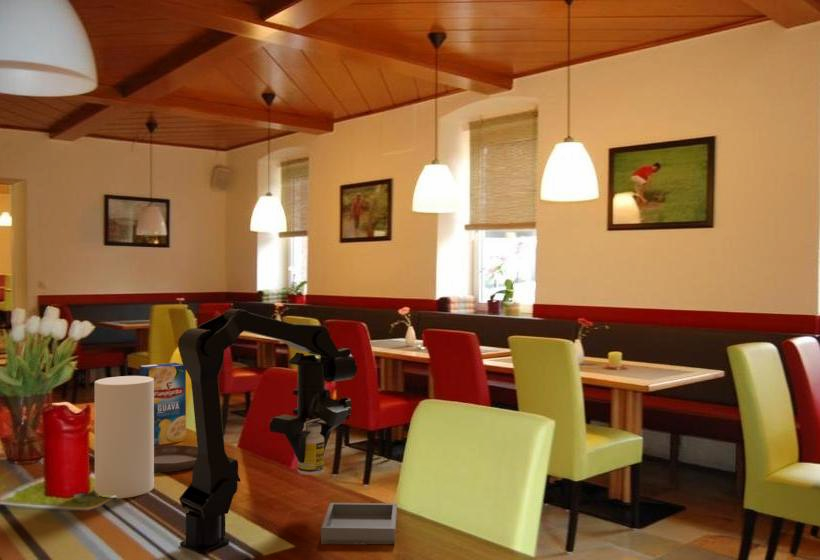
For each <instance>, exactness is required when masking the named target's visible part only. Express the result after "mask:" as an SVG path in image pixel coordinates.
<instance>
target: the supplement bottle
mask: <svg viewBox="0 0 820 560" xmlns="http://www.w3.org/2000/svg"><path fill="white" fill-rule="evenodd" d="M306 431H310V434H309V435H308V436H307V437H306V443H305V458H304V463H300V462H299V461H298V460H297V472H298V473H299V474H301V475H309V476H313V475H319V474H321V473H323V472H324V470H325V451H324V437H323V435H321V434H320V432H321V424H318V423H309V424H306Z"/></svg>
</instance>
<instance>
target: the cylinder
mask: <svg viewBox="0 0 820 560" xmlns="http://www.w3.org/2000/svg"><path fill="white" fill-rule="evenodd" d="M154 447H155V446H154V379H153V378H151V377H146V376H139V375H123V376H121V375H119V376H112V377H103V378H99V379H97V380H95V381H94V492H95V491H96V492H97V493H98V494H100V495H116V496H117V498H116V499H127V498H133V497H138V496H141V495H144V494H147V493H149V492H151V491H152V490H153V489H154V487H155V471H154Z"/></svg>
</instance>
